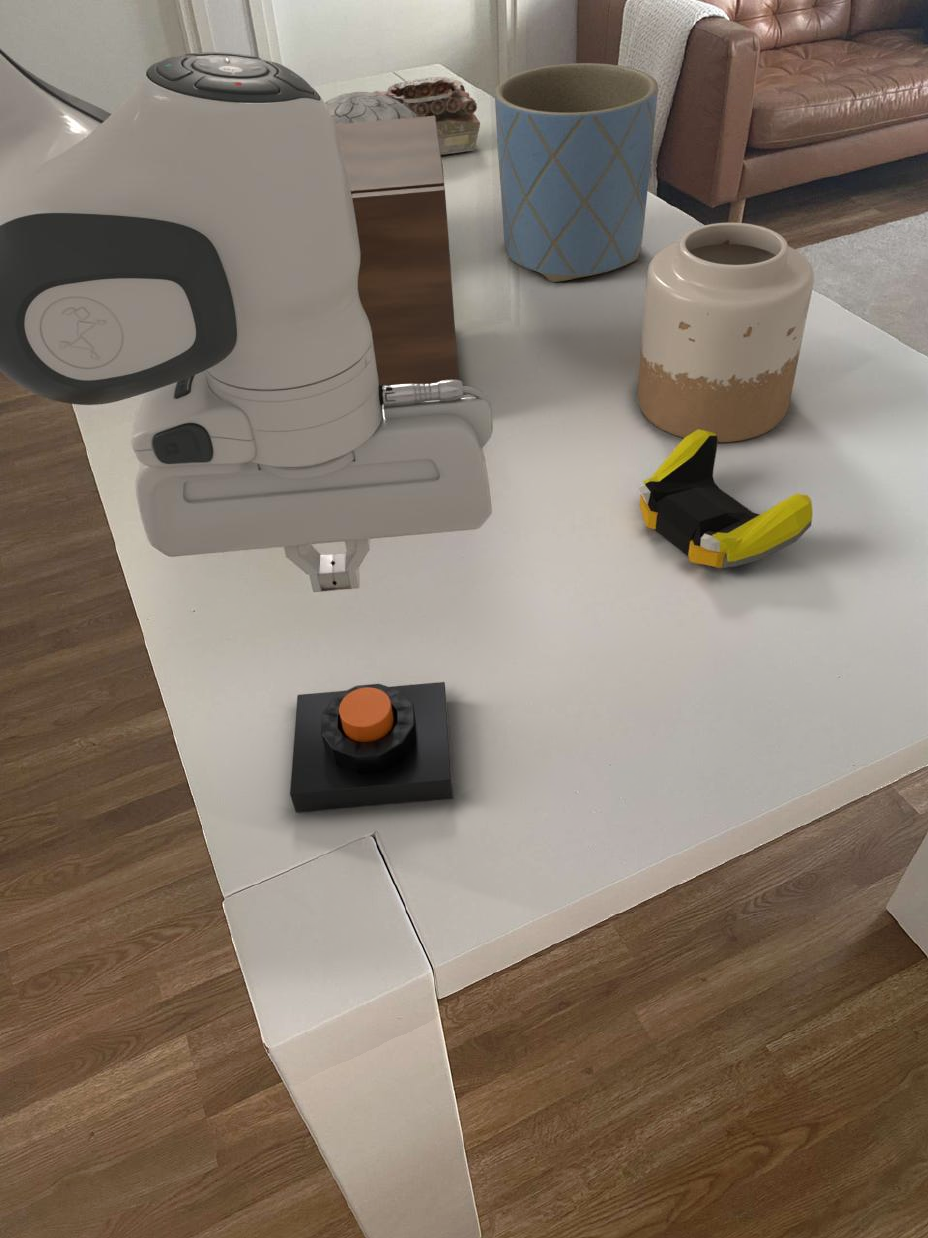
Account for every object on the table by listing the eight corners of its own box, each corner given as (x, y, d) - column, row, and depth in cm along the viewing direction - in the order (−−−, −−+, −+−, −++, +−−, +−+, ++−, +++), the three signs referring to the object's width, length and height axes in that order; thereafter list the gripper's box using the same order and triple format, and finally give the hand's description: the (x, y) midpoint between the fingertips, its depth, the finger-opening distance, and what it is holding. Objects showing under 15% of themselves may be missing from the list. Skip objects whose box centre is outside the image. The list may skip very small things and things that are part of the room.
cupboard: (461, 418, 101) (444, 182, 85) (212, 440, 101) (146, 208, 85) (451, 334, 114) (435, 115, 98) (231, 353, 114) (177, 137, 97)
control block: (295, 812, 67) (284, 778, 65) (302, 713, 74) (292, 678, 71) (453, 798, 68) (449, 763, 65) (446, 700, 74) (442, 665, 71)
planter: (675, 262, 124) (691, 91, 110) (543, 299, 119) (543, 125, 105) (597, 211, 137) (603, 53, 123) (475, 243, 132) (467, 81, 118)
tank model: (487, 164, 152) (484, 96, 146) (360, 179, 151) (351, 111, 144) (474, 136, 162) (471, 71, 155) (354, 150, 161) (346, 85, 154)
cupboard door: (465, 456, 96) (448, 216, 80) (203, 478, 96) (132, 243, 80) (461, 418, 101) (444, 185, 85) (212, 440, 101) (146, 210, 85)
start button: (342, 745, 67) (338, 729, 66) (343, 705, 69) (339, 689, 68) (394, 740, 67) (391, 724, 66) (393, 701, 69) (390, 684, 68)
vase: (796, 374, 104) (828, 216, 92) (778, 454, 94) (811, 289, 82) (654, 356, 108) (667, 204, 96) (621, 431, 98) (632, 271, 86)
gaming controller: (697, 467, 93) (613, 505, 90) (704, 418, 89) (616, 456, 86) (815, 551, 83) (726, 597, 80) (828, 500, 80) (735, 546, 76)
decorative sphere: (354, 218, 140) (332, 64, 126) (475, 238, 133) (466, 77, 119) (272, 276, 128) (239, 113, 114) (400, 302, 121) (381, 131, 107)
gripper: (485, 347, 55) (495, 537, 64) (122, 380, 55) (186, 565, 64) (495, 408, 50) (504, 603, 60) (99, 444, 50) (172, 633, 60)
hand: (337, 584), depth 62 cm, fingers closed
